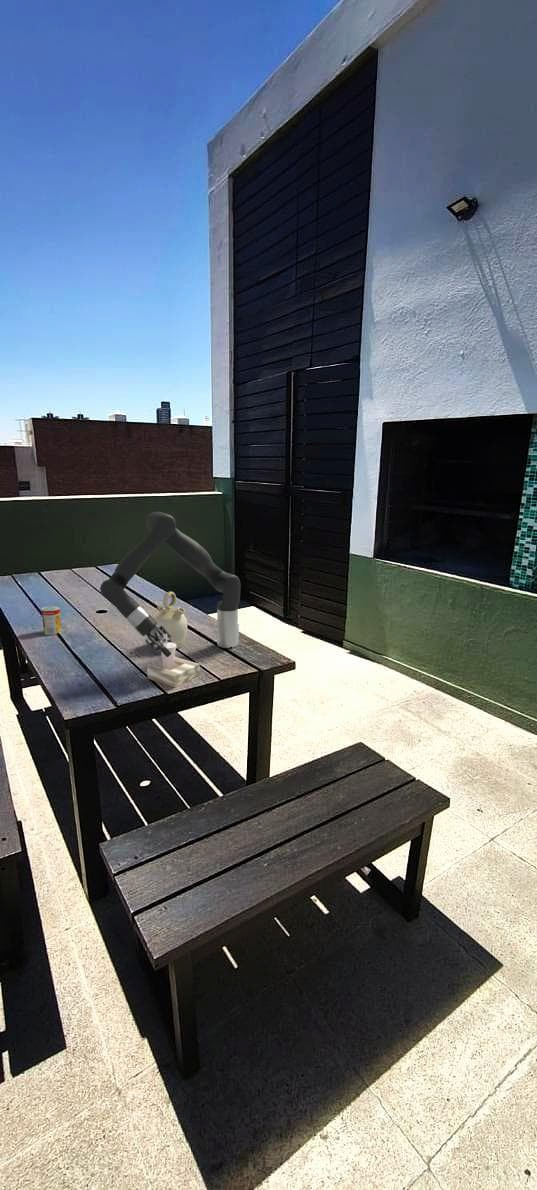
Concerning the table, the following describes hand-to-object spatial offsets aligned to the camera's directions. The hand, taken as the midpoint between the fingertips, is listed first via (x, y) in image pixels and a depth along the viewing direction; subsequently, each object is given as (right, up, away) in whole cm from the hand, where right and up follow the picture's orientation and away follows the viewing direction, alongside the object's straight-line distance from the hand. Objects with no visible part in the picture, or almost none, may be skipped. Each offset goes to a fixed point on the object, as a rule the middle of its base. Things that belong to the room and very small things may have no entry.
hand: (172, 652), depth 187 cm
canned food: (-67, +4, +47) cm, 82 cm away
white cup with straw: (-2, -7, +2) cm, 7 cm away
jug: (-8, -1, +35) cm, 35 cm away
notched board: (0, -10, +1) cm, 10 cm away
